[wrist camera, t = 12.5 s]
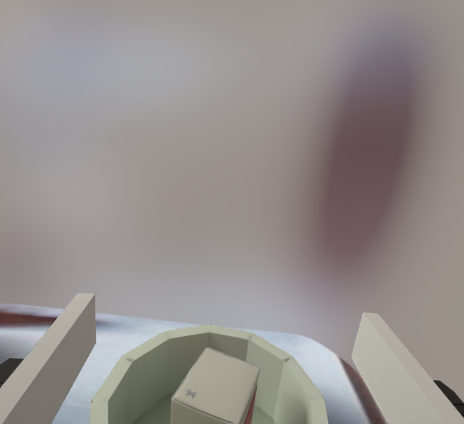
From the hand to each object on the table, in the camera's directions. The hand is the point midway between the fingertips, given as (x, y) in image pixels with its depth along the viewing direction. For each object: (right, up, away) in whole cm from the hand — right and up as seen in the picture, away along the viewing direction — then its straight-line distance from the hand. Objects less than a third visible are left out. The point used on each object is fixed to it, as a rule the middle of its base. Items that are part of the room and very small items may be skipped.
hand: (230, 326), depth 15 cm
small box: (-2, -13, +7) cm, 15 cm away
